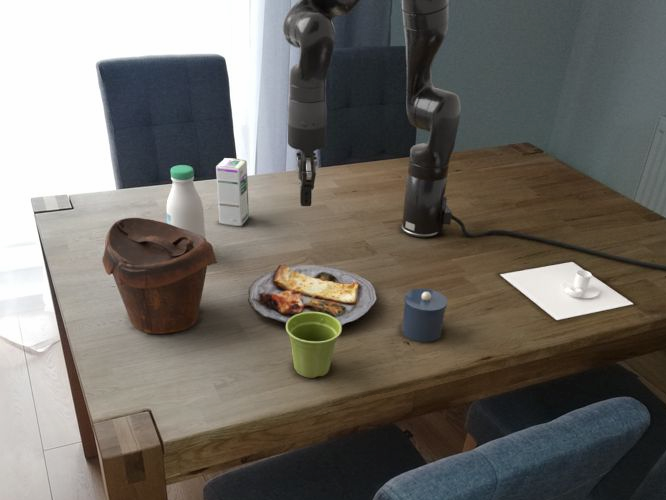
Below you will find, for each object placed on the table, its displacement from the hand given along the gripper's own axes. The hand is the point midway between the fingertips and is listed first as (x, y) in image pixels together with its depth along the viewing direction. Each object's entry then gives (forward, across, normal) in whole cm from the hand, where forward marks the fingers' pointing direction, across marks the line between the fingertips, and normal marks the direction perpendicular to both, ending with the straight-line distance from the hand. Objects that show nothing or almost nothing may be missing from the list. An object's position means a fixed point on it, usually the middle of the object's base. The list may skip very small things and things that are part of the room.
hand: (305, 204), depth 149 cm
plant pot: (+14, -39, +2) cm, 42 cm away
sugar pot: (+14, -28, -20) cm, 37 cm away
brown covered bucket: (+13, -21, +28) cm, 38 cm away
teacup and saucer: (+14, -13, -55) cm, 58 cm away
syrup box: (+14, +23, +15) cm, 31 cm away
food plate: (+14, -17, 0) cm, 22 cm away
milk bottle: (+14, +4, +25) cm, 29 cm away
